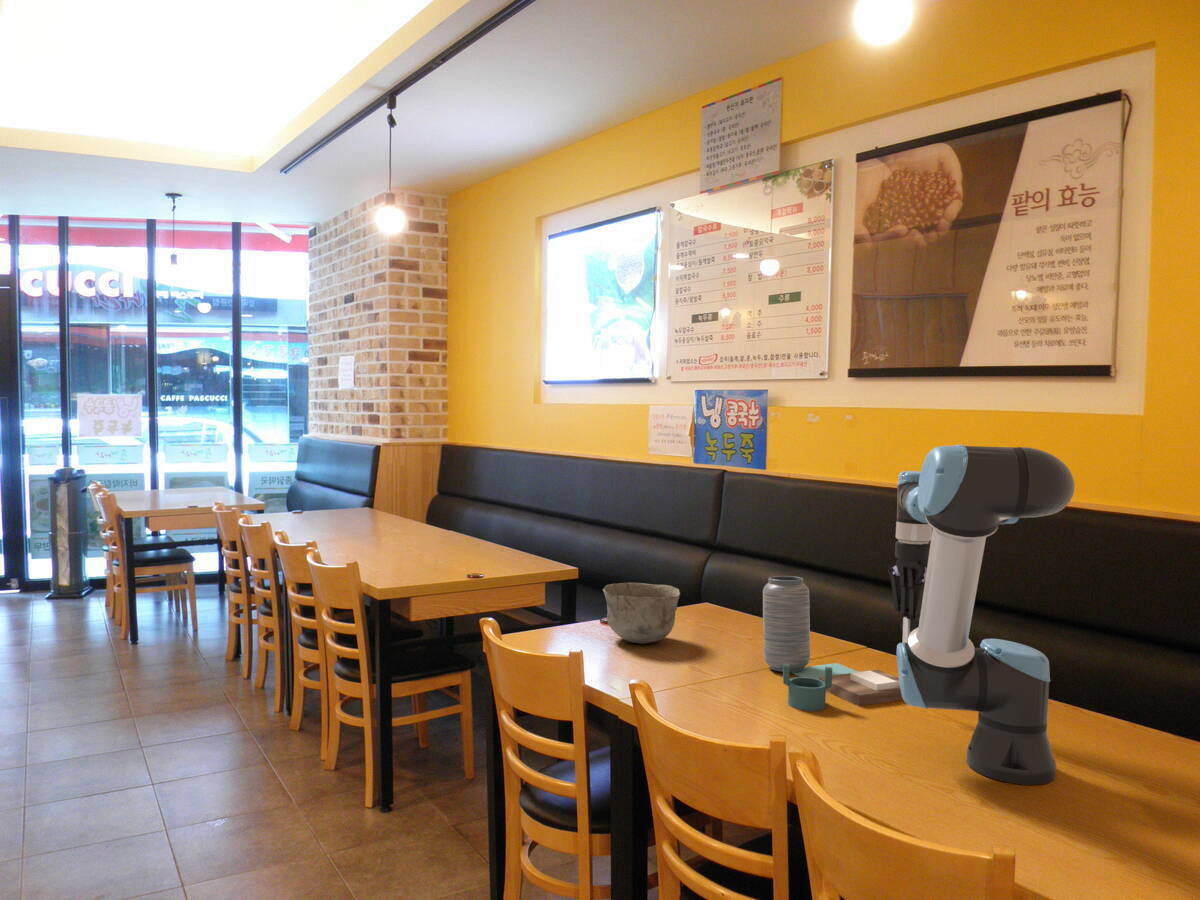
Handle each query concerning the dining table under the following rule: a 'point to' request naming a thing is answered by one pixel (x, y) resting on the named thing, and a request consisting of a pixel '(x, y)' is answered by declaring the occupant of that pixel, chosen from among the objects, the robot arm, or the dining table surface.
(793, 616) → the vase
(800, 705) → the bracket
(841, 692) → the brown wooden flat board
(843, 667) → the mat
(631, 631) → the bowl
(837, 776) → the dining table surface
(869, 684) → the white rectangular block
